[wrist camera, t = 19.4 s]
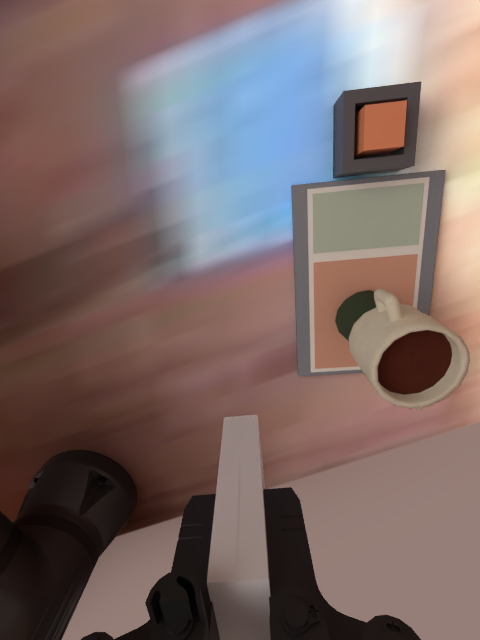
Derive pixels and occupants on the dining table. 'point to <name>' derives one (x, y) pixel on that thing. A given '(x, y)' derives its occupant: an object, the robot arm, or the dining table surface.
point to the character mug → (402, 349)
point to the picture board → (359, 255)
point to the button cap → (380, 128)
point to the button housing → (345, 130)
